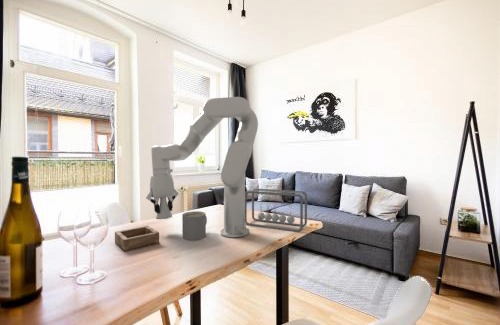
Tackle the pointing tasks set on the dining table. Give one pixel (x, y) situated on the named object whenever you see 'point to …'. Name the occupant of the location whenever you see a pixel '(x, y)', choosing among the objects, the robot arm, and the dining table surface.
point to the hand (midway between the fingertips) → (163, 211)
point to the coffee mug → (194, 225)
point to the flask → (163, 210)
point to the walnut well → (136, 238)
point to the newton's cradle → (275, 217)
